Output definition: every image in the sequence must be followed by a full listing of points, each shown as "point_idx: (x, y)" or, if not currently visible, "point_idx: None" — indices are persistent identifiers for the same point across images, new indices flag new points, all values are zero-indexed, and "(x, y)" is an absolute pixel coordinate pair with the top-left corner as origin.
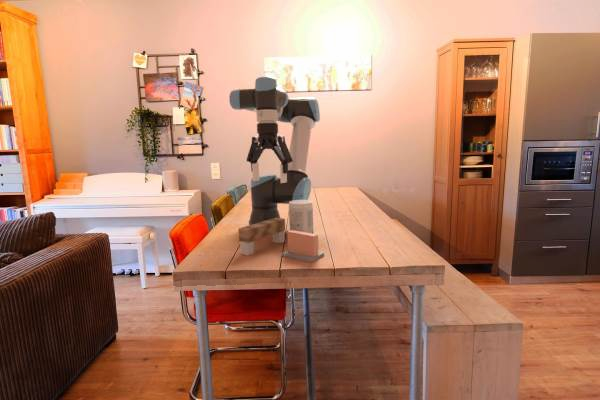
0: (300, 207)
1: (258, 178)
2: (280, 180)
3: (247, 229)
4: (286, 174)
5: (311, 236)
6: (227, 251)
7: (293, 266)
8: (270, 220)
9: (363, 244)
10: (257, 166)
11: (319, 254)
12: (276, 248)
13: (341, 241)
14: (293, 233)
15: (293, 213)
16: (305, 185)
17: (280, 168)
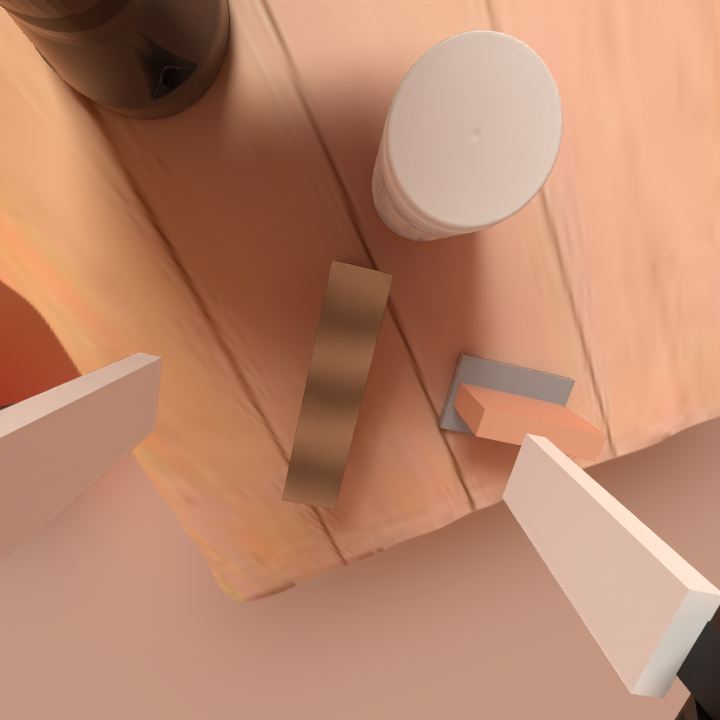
0: (492, 225)
1: (148, 373)
2: (512, 512)
3: (326, 500)
4: (595, 487)
5: (584, 458)
6: (245, 444)
7: (503, 485)
8: (337, 331)
9: (693, 202)
10: (21, 455)
11: (563, 399)
12: (387, 362)
13: (603, 190)
14: (503, 440)
15: (434, 233)
16: None
17: (596, 631)
